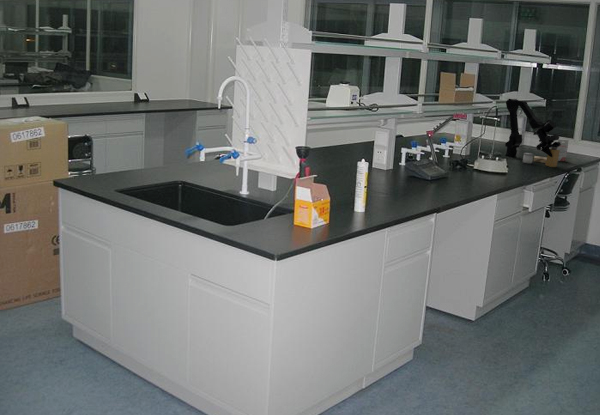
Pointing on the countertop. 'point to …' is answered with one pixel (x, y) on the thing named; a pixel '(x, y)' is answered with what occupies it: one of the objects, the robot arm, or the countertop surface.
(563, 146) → the ink cartridge box
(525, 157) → the white jar
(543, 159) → the beech block
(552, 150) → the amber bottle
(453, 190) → the countertop surface
